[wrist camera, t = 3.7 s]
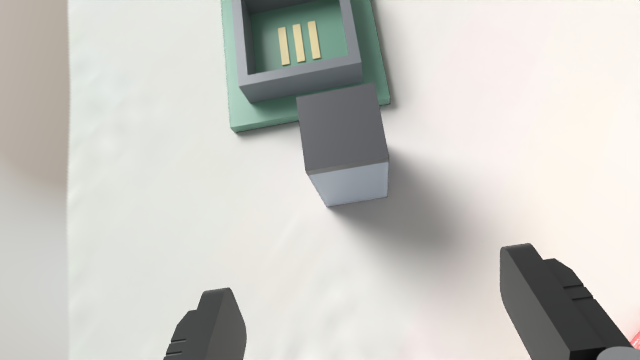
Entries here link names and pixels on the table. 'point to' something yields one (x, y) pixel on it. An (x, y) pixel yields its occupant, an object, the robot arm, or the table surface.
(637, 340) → the ink cartridge box
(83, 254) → the table surface
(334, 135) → the block
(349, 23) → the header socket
